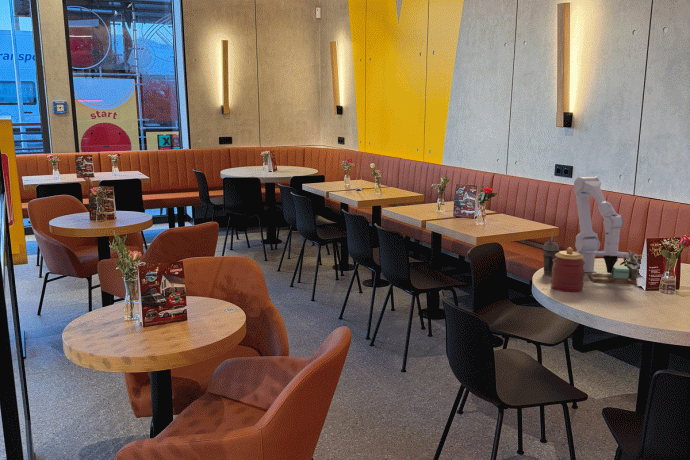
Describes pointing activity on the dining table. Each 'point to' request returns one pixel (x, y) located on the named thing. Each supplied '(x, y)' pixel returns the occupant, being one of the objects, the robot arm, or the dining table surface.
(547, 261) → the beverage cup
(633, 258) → the passion flower
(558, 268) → the canister
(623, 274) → the keeper
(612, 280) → the rail board
